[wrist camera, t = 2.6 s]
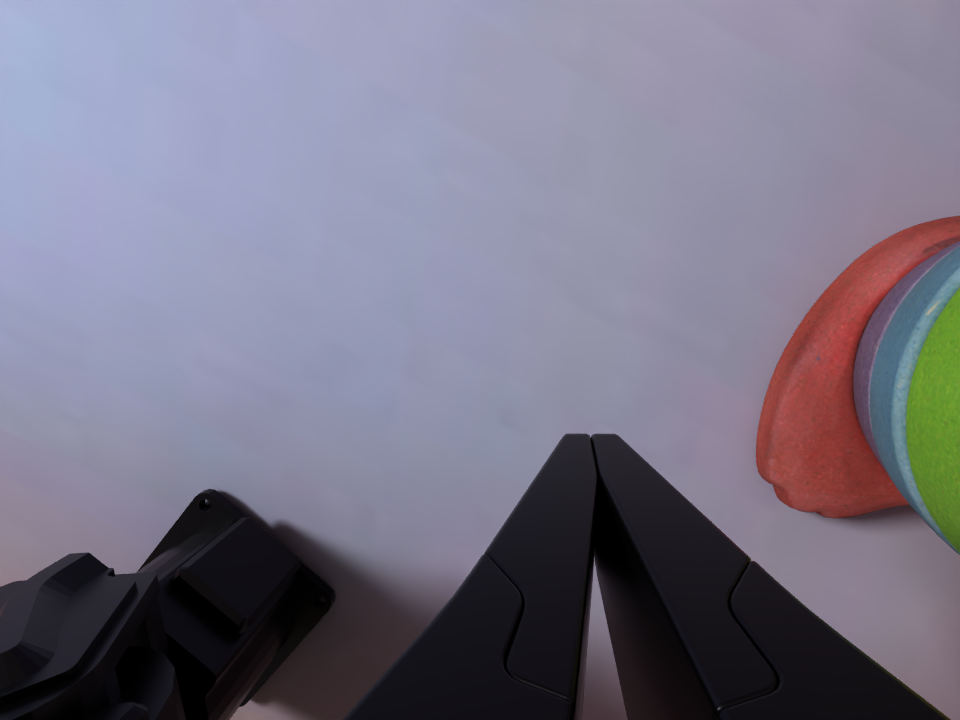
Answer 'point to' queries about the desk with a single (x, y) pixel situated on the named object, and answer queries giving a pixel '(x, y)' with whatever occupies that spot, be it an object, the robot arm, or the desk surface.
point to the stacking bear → (874, 388)
